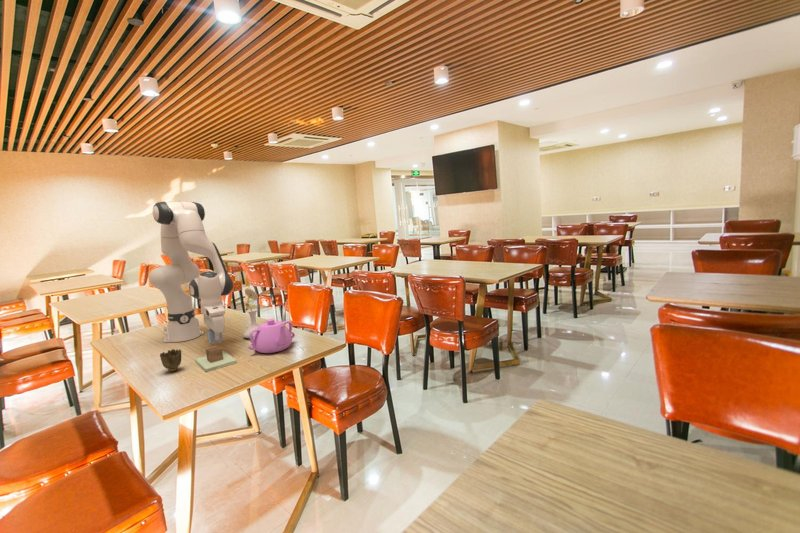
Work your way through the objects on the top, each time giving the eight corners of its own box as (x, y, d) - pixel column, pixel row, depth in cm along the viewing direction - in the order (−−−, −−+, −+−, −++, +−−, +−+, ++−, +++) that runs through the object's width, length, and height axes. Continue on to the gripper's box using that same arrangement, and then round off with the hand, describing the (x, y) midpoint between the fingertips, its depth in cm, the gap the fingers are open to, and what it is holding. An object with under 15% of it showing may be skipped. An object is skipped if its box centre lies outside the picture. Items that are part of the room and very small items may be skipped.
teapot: (264, 363, 154) (260, 331, 152) (241, 351, 169) (238, 322, 167) (309, 347, 169) (307, 318, 167) (285, 338, 184) (283, 311, 182)
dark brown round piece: (168, 376, 146) (165, 356, 144) (158, 372, 149) (156, 353, 148) (187, 369, 152) (184, 350, 151) (177, 366, 156) (175, 347, 155)
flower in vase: (270, 336, 189) (265, 288, 185) (247, 342, 182) (241, 292, 178) (261, 330, 199) (256, 285, 195) (239, 336, 192) (233, 288, 188)
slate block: (207, 340, 169) (206, 330, 168) (219, 338, 172) (218, 327, 172) (210, 343, 165) (209, 333, 165) (222, 341, 169) (221, 330, 168)
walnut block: (207, 359, 158) (205, 348, 157) (219, 356, 161) (218, 345, 160) (210, 362, 154) (209, 351, 153) (223, 359, 157) (221, 348, 156)
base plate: (195, 361, 159) (194, 359, 159) (224, 353, 167) (224, 351, 167) (205, 372, 148) (205, 369, 147) (236, 362, 156) (236, 360, 155)
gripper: (198, 305, 172) (201, 333, 174) (210, 313, 157) (213, 345, 159) (213, 302, 176) (215, 330, 178) (226, 311, 161) (229, 341, 163)
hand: (214, 337), depth 169 cm, fingers closed on slate block, 5 cm apart
